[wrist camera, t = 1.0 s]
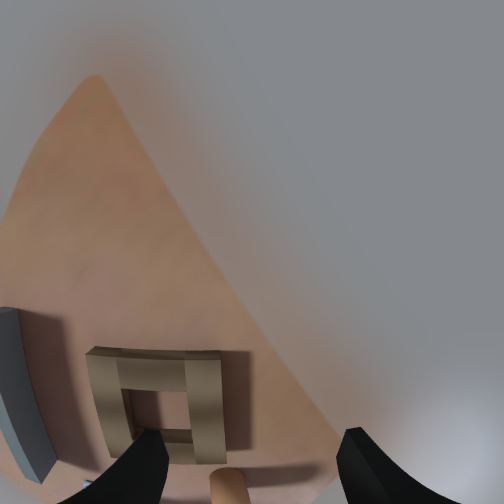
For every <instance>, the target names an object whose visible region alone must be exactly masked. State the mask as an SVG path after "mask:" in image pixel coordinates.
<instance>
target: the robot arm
mask: <svg viewBox="0 0 504 504" xmlns="http://www.w3.org/2000/svg"><path fill="white" fill-rule="evenodd" d="M169 459H170V458H169V455H168V452H167V449H166V447H165V444H164V441H163V438H162V435H161V432H160V430H155V429H149V428H145V429H144V430H143V431H142V432H141V433H140V434H139V436H138V437H137V438H136V439H135V441H134V442H133V443H132V444H131V445H130V446H129V448H128V449H127V450H126V451H125V452H124V453H123V454H122V455H121V456H120V457H119V458H118V459H117V460H116V462H115V463H114V464H113V465H112V466H111V467H109V468H108V469H107V470H106V471H105V472H104V473H103V474H102V475H101V476H100V477H98V478H97V479H96V480H95V481H93V482H89V481H83V485H84V487H85V488H84V489H82V490H81V491H79V492H78V493H76V494H75V495H73V496H71V497H69V498H68V499H66V500H64V501H62V502H60V503H57V504H159V502H160V498H161V495H162V492H163V488H164V485H165V482H166V478H167V472H168V465H169ZM336 459H337V465H338V471H339V476H340V480H341V483H342V486H343V489H344V492H345V495H346V498H347V501H348V504H460V503H457V502H455V501H452V500H450V499H448V498H446V497H444V496H441V495H439V494H437V493H435V492H434V491H432V490H430V489H429V488H427V487H425V486H424V485H422V484H421V483H419V482H418V481H416V480H415V479H414V478H412V477H411V476H410V475H408V474H407V473H406V472H404V470H402V469H401V468H400V467H399V466H398V465H397V464H396V463H394V462H393V461H392V460H391V459H390V458H389V457H388V456H387V455H386V454H385V453H384V452H383V451H382V450H381V449H380V448H379V447H378V445H376V443H374V441H373V440H372V439H371V438H370V437H369V436H368V434H367V433H366V432H365V431H364V430H363V429H362V428H361V427H357V428H351V429H346V432H345V435H344V437H343V440H342V443H341V445H340V448H339V451H338V453H337V456H336Z"/></svg>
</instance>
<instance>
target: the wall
mask: <svg viewBox="0 0 504 504" xmlns="http://www.w3.org/2000/svg"><path fill="white" fill-rule="evenodd" d="M0 428H1V430H2V433H3V435H4V437H5V439H6V442H7V444H8V446H9V448H10V450H11V452H12V454H13V456H14V458H15V460H16V462H17V464H18V465H19V467H20V469H21V471H22V473H23V474H24V476H25V478H27V479H29V480H31V481H34V482H36V483H39V484H42V483H43V481H44V479H45V478H46V476H47V475H48V473H49V472H50V470H51V469H52V467H53V466H54V464H55V463H56V461H57V460H58V457H57V455H56V453H55V451H54V448H53V446H52V444H51V441H50V439H49V436H48V434H47V431H46V428H45V426H44V423H43V420H42V417H41V414H40V411H39V408H38V405H37V402H36V398H35V395H34V391H33V388H32V384H31V380H30V376H29V372H28V367H27V363H26V358H25V353H24V348H23V342H22V336H21V330H20V322H19V314H18V309H17V308H9V307H0Z"/></svg>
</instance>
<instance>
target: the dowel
mask: <svg viewBox="0 0 504 504" xmlns="http://www.w3.org/2000/svg"><path fill="white" fill-rule="evenodd" d="M210 490H211V501H212V504H251V502H250V498H249V494H248V490H247V486H246V481H245V477H244V474H243V473H242V472H241V471H240V470H238V469H235V468H220V469H217V470H215V471H214V472H212V473H211V475H210Z"/></svg>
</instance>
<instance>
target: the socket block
mask: <svg viewBox="0 0 504 504" xmlns="http://www.w3.org/2000/svg"><path fill="white" fill-rule="evenodd" d="M85 356H86V362H87V368H88V373H89V378H90V383H91V388H92V393H93V397H94V401H95V406H96V410H97V413H98V417H99V421H100V425H101V428H102V431H103V435H104V438H105V441H106V444H107V447H108V450H109V453H110V456H111V457H112V458H119V457H120V456H121V455H122V454H123V453H124V452H125V451H126V450H127V449H128V448H129V446H130V445H131V444H132V443H133V442H134V441H135V439H136V438H137V437H138V436H139V434H140V433H141V432H142V431H143V430H144V429H145V428H142V427H137V426H136V422H135V417H134V412H133V407H132V402H131V397H130V391H129V389H135V390H150V391H175V392H187V396H188V406H189V414H190V423H191V430H175V429H155V428H149V429H155V430H160V432H161V435H162V438H163V441H164V444H165V447H166V449H167V452H168V455H169V458H170V459H169V464H227V460H226V447H225V432H224V416H223V398H222V377H221V358H220V352H219V350H214V351H168V350H139V349H122V348H108V347H97V346H95V347H94V348H92V349H91V350H90V351H89V352H87V353H86V354H85Z"/></svg>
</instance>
